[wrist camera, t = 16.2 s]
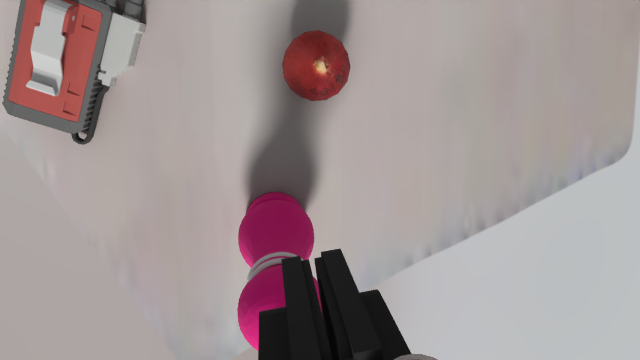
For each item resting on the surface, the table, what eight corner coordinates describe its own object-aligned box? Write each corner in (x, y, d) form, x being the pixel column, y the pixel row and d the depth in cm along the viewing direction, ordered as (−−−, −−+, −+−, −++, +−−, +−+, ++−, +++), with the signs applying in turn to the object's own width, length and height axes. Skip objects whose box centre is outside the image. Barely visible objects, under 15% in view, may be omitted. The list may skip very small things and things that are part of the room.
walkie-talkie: (115, 149, 37) (172, -69, 33) (97, 160, 33) (159, -88, 28) (14, 118, 35) (60, -119, 31) (-19, 126, 31) (28, -148, 26)
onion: (352, 60, 37) (375, 60, 30) (317, 108, 38) (330, 120, 31) (305, 21, 36) (316, 10, 28) (269, 72, 37) (270, 74, 29)
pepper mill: (226, 216, 40) (194, 353, 21) (279, 173, 40) (296, 275, 21) (270, 262, 42) (277, 423, 24) (322, 222, 42) (371, 354, 23)
